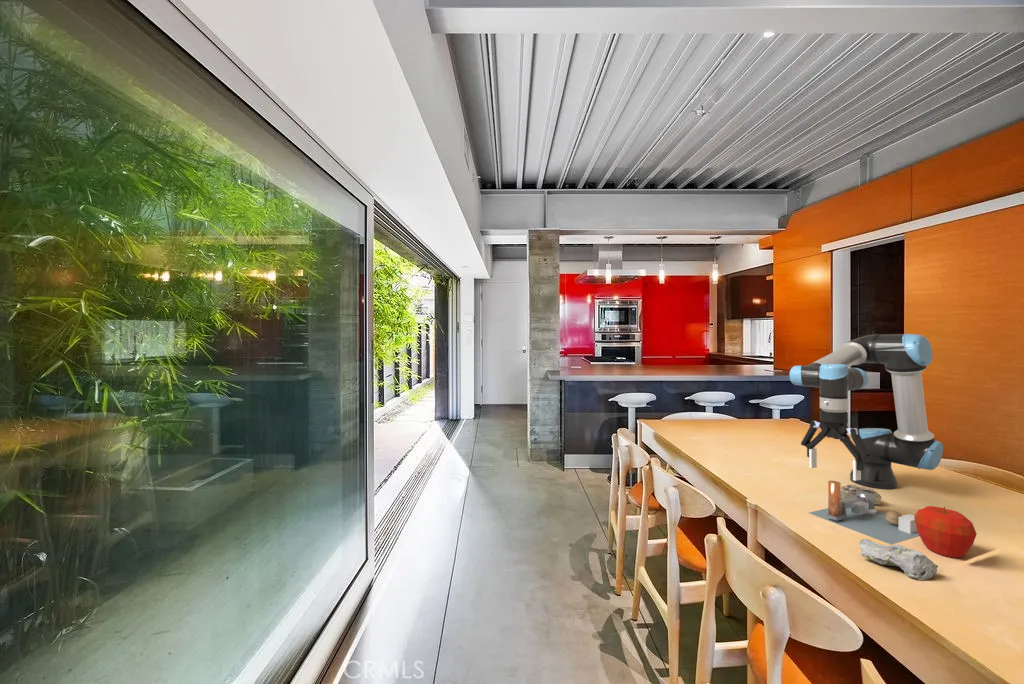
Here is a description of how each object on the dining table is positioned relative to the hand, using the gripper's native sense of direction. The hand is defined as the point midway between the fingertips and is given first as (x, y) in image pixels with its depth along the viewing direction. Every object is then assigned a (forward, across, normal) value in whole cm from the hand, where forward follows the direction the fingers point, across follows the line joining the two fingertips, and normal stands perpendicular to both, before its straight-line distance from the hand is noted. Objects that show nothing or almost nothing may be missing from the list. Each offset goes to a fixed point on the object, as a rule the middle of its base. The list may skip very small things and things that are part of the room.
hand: (834, 473), depth 140 cm
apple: (+17, +25, +6) cm, 31 cm away
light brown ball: (+16, +10, +14) cm, 23 cm away
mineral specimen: (+17, +24, -14) cm, 33 cm away
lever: (+15, +1, +8) cm, 17 cm away
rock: (+18, -8, +26) cm, 32 cm away
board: (+17, +5, +9) cm, 20 cm away
